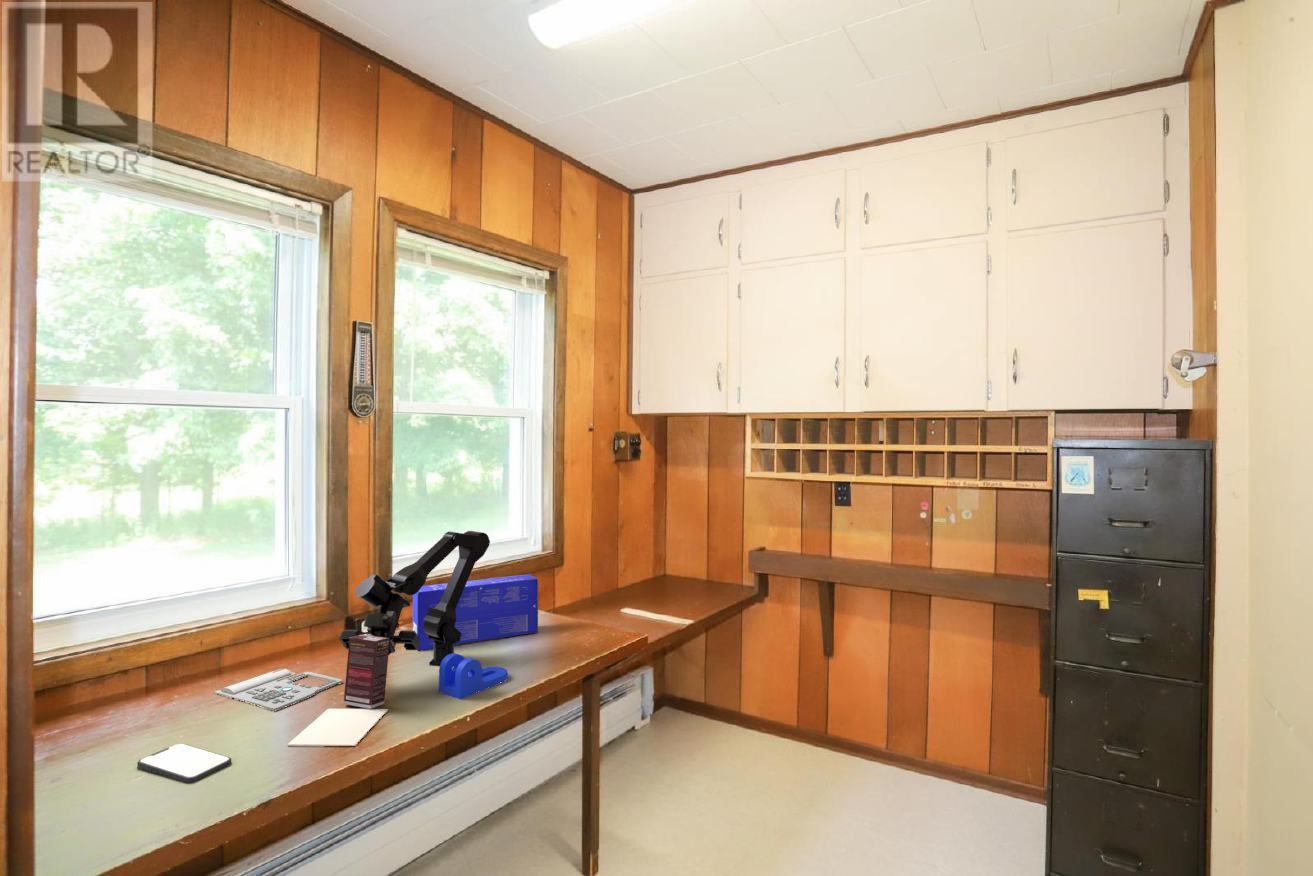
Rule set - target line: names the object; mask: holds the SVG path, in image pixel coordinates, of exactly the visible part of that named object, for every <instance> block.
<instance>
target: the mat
mask: <svg viewBox="0 0 1313 876" xmlns="http://www.w3.org/2000/svg"><path fill="white" fill-rule="evenodd" d="M388 711H389V709H388V708H372V709H368V708H327V709H326V710H325V711H324V712H323V713H321V714H320V715H319V716H318V717H317V718H316V719H314V720H313V722H311V723H310V724H308V726H307V727H305V728H304V729H303V730H301V732H300V733H299V734H298V735H297V736H295V737H294V738H293V739H292V740H291V741H290V742H288V743H287V747H324V746H355V747H356V746H357V745H358V744H359V743H360V742H361V741H362V740H363V739H364V737H366V735H367V734H368V733H369V732H370V731H371V730H372V729H373V728H374V727H373V726H376V724H378V722H379V721H380V720H382V718H383V717H384V716H385V715H386V714H387V713H388ZM384 714H385V715H384ZM383 715H384V716H383ZM382 716H383V717H382ZM379 719H380V720H379ZM372 727H373V728H372ZM371 728H372V729H371ZM370 729H371V730H370ZM369 730H370V731H369ZM367 732H368V733H367ZM362 738H363V739H362ZM361 739H362V740H361ZM360 740H361V741H360ZM358 742H359V743H358Z"/></svg>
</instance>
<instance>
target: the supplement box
mask: <svg viewBox="0 0 1313 876" xmlns="http://www.w3.org/2000/svg"><path fill="white" fill-rule="evenodd" d="M364 634H365V633H364ZM364 634H362V633H361V635H357V636H353V637H350V639H349V649H347V650H348V651H347V662H346V673H345V674H346V675H345V683H344V685H345V686H344V695H343V705H347V706H352V707H359V708H362V709H376V708H378V707H381V706H383V705H384V704H385V699H386V697H385V696H386V685H387V676H388V664H389V663H388V662H389V656H388V654H389V643H390V638H386V637H378V636H371V635H364Z"/></svg>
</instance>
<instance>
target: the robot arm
mask: <svg viewBox="0 0 1313 876" xmlns="http://www.w3.org/2000/svg"><path fill="white" fill-rule="evenodd" d="M490 544H491V540H490V536H489V535H488V534H487V533H486V532H481V531H475V530H468V531H465V532H463V533H461V532H456V531H446V532H444V535H442V537H441V538H440V539H439V540H438V541H437V542H436V543H435V544H433V546H432V547H431V548H429V549H428V550H427V551H426V552H425V553H424V554H423V555H421V557H419V559H417V561H415V562H414V563H412V564H409V565H407V566H405V567H403V568H402V569H399V571H397V572H395V573H394V574H393V575H392V577H390V578H388V579H386V580H384V579H382V578H381V577H380V576H379V575H378V574H374V573H371V575H370V576H369V577H367V578H366V579H364V580H363V581H361V582H359V584H358V585H357V586H356V589H355V596H356V597H358V598H359V599H361V600H362V601H364V602H365V603H366V604H368V605H370V606H371V607H373V608H376V607H378V610H377V612H375V613H373V612H372V613H365V618H364V623H363V627H364V628H366V631H367V632H368V633H364V635H371V636H378V637H386V638H390V643H389V654H388V657H389V656H390V655H391V654H394V653H395V652H396V645H398V644H401V645H402V644H403V648H404V649H405V650H406V651H417V650H418V648H419V644H420V640H419V638H418V636H417V634H416V632H415V631H413V630H405V629H404V630H400V631H399V632H398V635H396V630H397V629H398V628H399V627H400V623H399V622H400V621H399V620H400V617H401V615H402V614H401V613H402V610H403V609H404V608H408V607H410V606H411V604H410V601H409V600H408V597H407V596H413V595H414V594H416V593H417V592H418V591H419V590H420V589H421V587H422V586H425V583H426V581H427V578H428V575H429V574H430V573H431V572H433V570H434V569H436V567H437V566H438V565H439V564H441V562H443V560H445V558H447V557H448V556H449V555H450V554H451V553H452V552H453V551H454V550H455V549H456V548H457V547H458V558H457V562H456V564H455V566H454V569H453V571H452V573H451V575H450V578H449V580H448V582H447V583H448V584H447V583H446V584H447V587H446V589H445V591H444V594H443V596H442V598H441V600H440V603H439V604H438V605H437V606H436V607H435V608H432V607H430V608H429V609H428V611H427V615H426V617H425V618H424V619H423V621H424V624H423V628H424V632H425V633H426V634H427V637H428V639H431V640H434V649H432V650H433V652H432V653H433V654H432V655H433V658H432V659H431V660H430V661H429V663H428V664H429V666H433V665H434V666H437V665H438V666H440V664H441V662H442V660H443V659H444V658H445V657H446V656H447V655H448V654H451V653H455V646H454V644H455V643H456V642H458V641H460V638H461V635H462V634H461V633H460V632H459V631H458V630H457V629H456V628H455V627H454V626H455V623H456V607H457V604H458V602H459V600H460V597H461V595H462V593H463V590H464V588H465V586H466V583H467V581H469V578H470V576H471V573H472V572H473V569H474V566H475V565H476V563H477V562H478V561H479V560H480V559H481V558H483V556H484V555H485V553H486V552H487V550H488V549H489V547H490ZM394 592H395V593H394ZM402 594H403V595H406V596H402ZM357 635H362V633H361V631H360V630H359V629H344V630H343V631H342V632H341V633H340V636H339V641H340V642H341V644H342V645H343V647H344V648H345V650H349V639H350V637H353V636H357Z"/></svg>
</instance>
